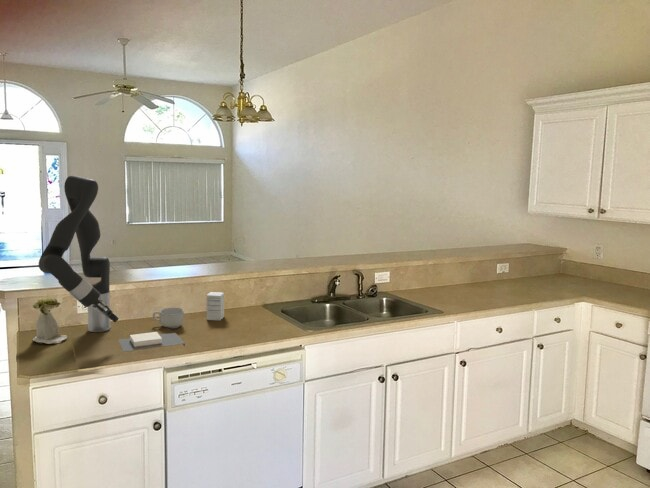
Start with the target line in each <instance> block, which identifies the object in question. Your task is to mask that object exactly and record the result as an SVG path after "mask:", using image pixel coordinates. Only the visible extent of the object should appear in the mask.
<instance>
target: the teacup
mask: <svg viewBox="0 0 650 488" xmlns="http://www.w3.org/2000/svg"><path fill="white" fill-rule="evenodd" d="M184 313H185V309H183V308H181V307H174V306H173V307H172V306H170V307H165V308H162V309H161V310H160V311H159V310H155V311H153V313H152V318H153V319H154V320H155V321H157V322H158V323H159V324H161V325H162V326H163V327H164V328H168V329H170V330H171V329H177V328H179V327H180V326H182V324H183V323H184V320H185V319H184V317H185V316H184V315H185V314H184ZM156 314H158V316H159V317H160V318H159V317H158V318H157V316H156Z"/></svg>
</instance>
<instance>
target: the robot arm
mask: <svg viewBox="0 0 650 488" xmlns="http://www.w3.org/2000/svg"><path fill="white" fill-rule="evenodd" d="M64 181H65V182H64V194H65V198H66V200H67V202H68V205H69V208H70V212H69V213H68V214H67V215H66V216H65V217H64V218H62V219H61V220H60V221H59V222H58V223H57V224H56V226H55V227H54V230H53V232H52V234H51V237H50V240H49V242H48V244H47V246H46V247H45V249H44V250H43V252H42V254H41V255H40V257H39V260H38V268H39V270H40V271H41V272H43V273H44V274H51V275H52V276H53V277H54V278H55V279H56V280H58V284H59V285H60V286H61V287H62V288H64V289H65V290H66V291H67V292H68V293H69V294H70V295H71V296H72V297H73V298H74V299H75V300H76V301H78V303H80V304H81V305H83V307H85V308H87V327H88V328H87V330H88V332H90V333H103V332H107V331H110V329H111V321H112V322H114V323H117V322H118V320H119V317H118V316H117V315H116V314H114V312H113V310H112V309H111V301H110V298H111V295H110V274H111V272H110V270H111V268H110V267H111V265H110V264H111V263H110V259H109V258H108V257H107V256H91V252H92V250H93V249H94V248H95V247H96V245H97V244H98V243H99V240H100V238H101V229H100V225H99V220H97V217H96V216H95V215H94V214H93V213H92V212H91V210H90V208H91V206H92V205H93V204H94V202H95V200H96V198H97V195H98V192H99V184H98V182H97V181H96V180H95V179H92V178H87V177H83V176H79V175H74V174H73V175H69V176H67V178H66V179H65V180H64ZM75 236H76V238H77V243H78V247H79V252H80V259H81V260H80V261H81V267H82V272H83V275H84V276H85V277H86V278H93V279H95V278H99V279H100V280H99V281H98V282H96V283H93V284H91V283H89V281H87V280H86V279H84V278H83V277H82V276H81V275H79V274H78V273H77V272H76V271H75V270H74V269H73V268H72V267H71V266H70V264H69V263H68V262H67V260H65V259H64V258H63V255H64V253H65V252H67V251H68V250H69V248H70V246H71V243H72V241H73V239H74V237H75Z"/></svg>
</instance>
